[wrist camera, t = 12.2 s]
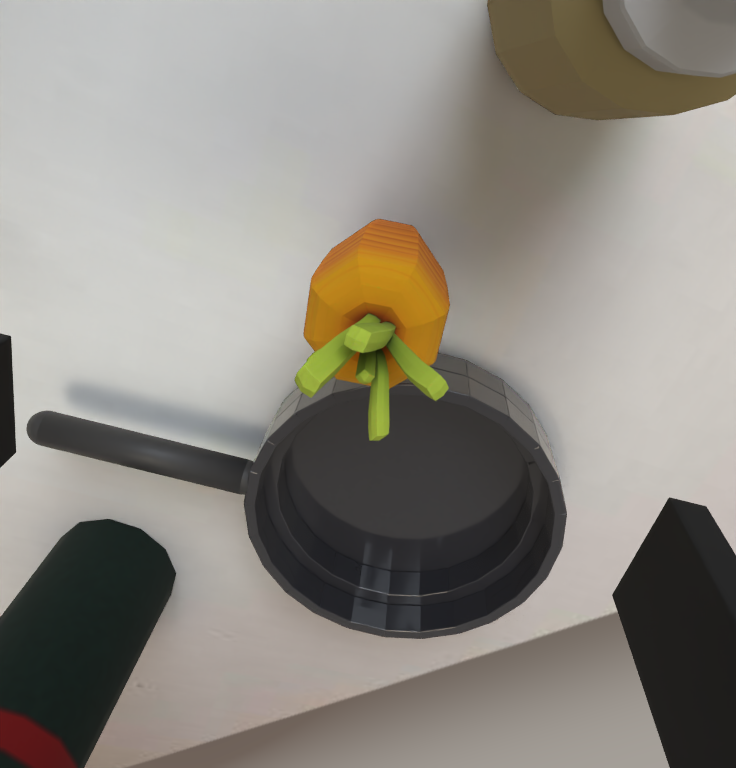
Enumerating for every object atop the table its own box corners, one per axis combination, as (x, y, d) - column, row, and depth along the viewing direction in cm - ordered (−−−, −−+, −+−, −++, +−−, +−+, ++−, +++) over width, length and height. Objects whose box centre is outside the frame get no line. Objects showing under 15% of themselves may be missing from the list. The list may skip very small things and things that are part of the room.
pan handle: (38, 400, 33) (18, 418, 31) (268, 457, 33) (260, 477, 32) (39, 429, 34) (19, 447, 32) (263, 484, 34) (254, 505, 32)
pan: (290, 312, 32) (271, 345, 28) (598, 390, 32) (620, 433, 29) (245, 548, 40) (226, 599, 36) (496, 609, 40) (503, 666, 36)
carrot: (467, 226, 29) (495, 367, 16) (406, 310, 31) (387, 495, 18) (376, 164, 28) (327, 259, 15) (320, 254, 31) (234, 407, 17)
